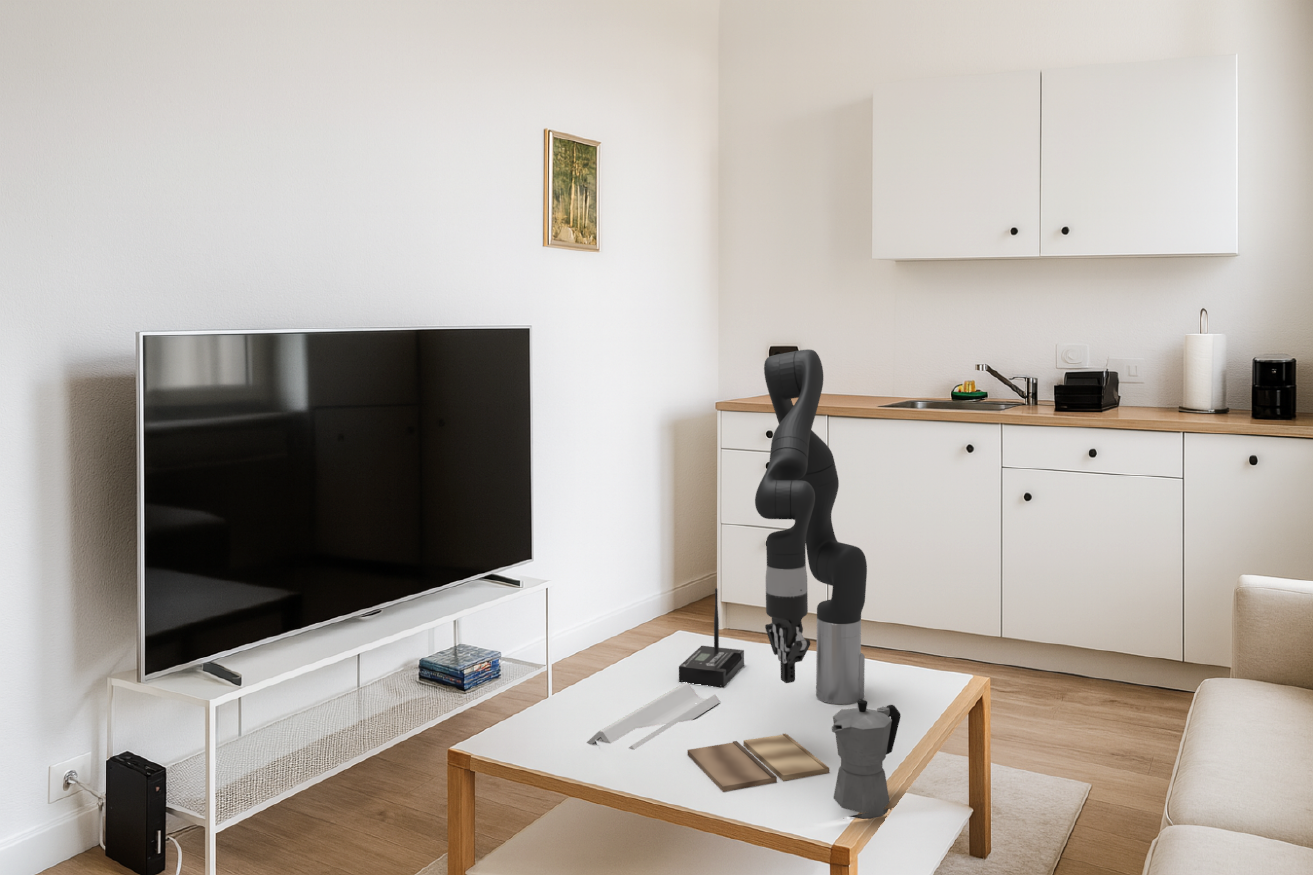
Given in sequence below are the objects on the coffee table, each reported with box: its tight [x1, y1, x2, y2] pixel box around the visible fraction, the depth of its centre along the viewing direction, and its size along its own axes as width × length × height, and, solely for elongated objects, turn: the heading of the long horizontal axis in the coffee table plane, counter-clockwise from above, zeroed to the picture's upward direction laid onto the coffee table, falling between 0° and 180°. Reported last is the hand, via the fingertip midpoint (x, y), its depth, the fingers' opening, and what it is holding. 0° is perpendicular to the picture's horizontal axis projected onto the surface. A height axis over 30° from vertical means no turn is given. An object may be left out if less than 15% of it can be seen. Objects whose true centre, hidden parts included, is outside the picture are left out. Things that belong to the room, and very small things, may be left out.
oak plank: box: [742, 733, 830, 782], centre depth 183 cm, size 16×9×2 cm, turn 20°
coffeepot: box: [831, 699, 902, 820], centre depth 166 cm, size 15×9×18 cm, turn 125°
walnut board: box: [687, 740, 778, 793], centre depth 179 cm, size 10×16×2 cm, turn 20°
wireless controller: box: [678, 587, 745, 689], centre depth 232 cm, size 20×14×17 cm
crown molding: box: [586, 682, 721, 750], centre depth 203 cm, size 31×12×4 cm, turn 147°
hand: (787, 681), depth 186 cm, fingers closed
